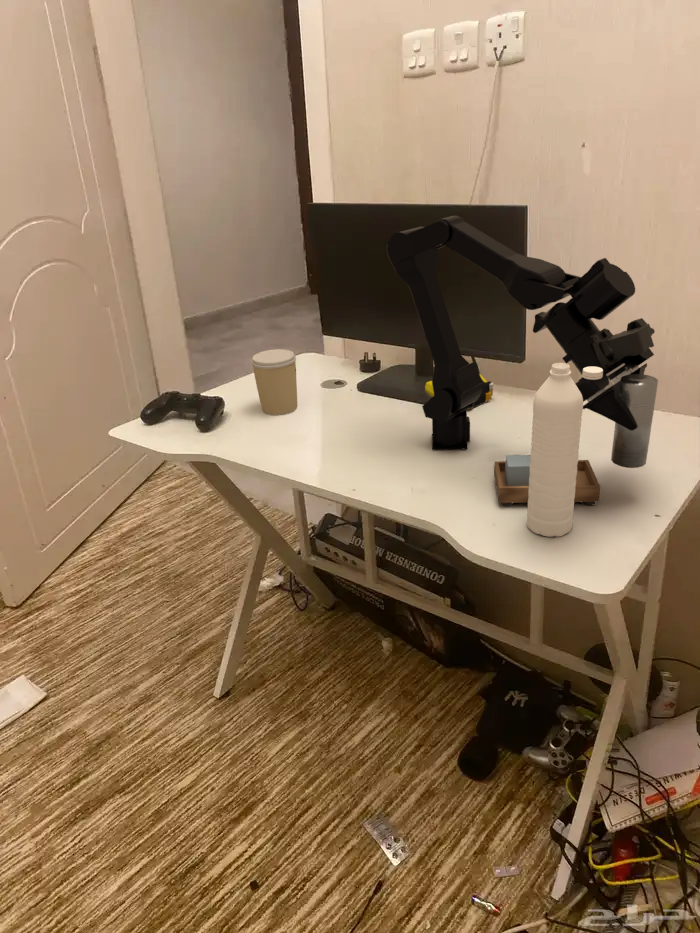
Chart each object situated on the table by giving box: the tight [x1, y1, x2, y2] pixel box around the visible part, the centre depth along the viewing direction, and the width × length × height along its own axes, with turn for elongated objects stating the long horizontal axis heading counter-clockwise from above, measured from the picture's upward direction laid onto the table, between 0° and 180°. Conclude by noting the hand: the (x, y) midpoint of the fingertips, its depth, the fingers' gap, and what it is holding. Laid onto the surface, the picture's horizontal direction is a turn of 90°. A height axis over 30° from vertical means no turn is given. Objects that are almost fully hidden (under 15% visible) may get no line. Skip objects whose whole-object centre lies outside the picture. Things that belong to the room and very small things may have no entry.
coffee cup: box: [251, 348, 298, 417], centre depth 148 cm, size 9×9×12 cm
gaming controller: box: [424, 372, 495, 410], centre depth 146 cm, size 15×6×10 cm
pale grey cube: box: [505, 454, 531, 486], centre depth 110 cm, size 4×4×4 cm
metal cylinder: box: [610, 373, 659, 469], centre depth 103 cm, size 5×5×13 cm
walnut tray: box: [493, 459, 601, 507], centre depth 110 cm, size 15×9×3 cm, turn 84°
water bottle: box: [526, 362, 603, 538], centre depth 96 cm, size 9×6×25 cm
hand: (643, 422), depth 102 cm, fingers closed on metal cylinder, 5 cm apart
